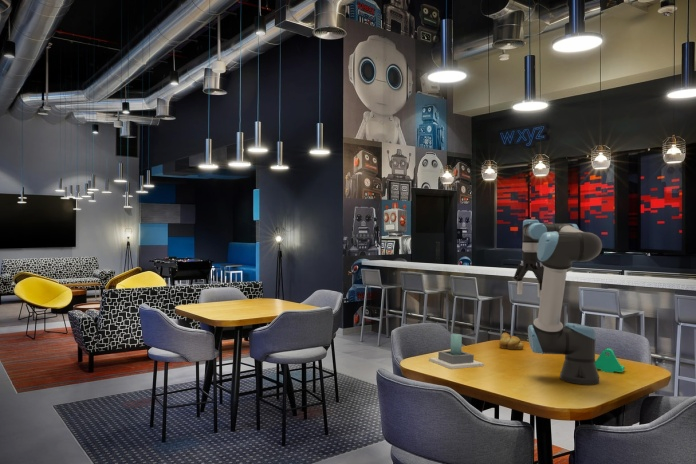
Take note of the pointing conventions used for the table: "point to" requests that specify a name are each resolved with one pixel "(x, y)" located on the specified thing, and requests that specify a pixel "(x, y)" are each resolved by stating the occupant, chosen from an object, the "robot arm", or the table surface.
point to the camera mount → (608, 362)
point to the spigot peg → (456, 344)
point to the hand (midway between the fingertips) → (529, 295)
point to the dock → (454, 366)
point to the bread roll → (510, 342)
